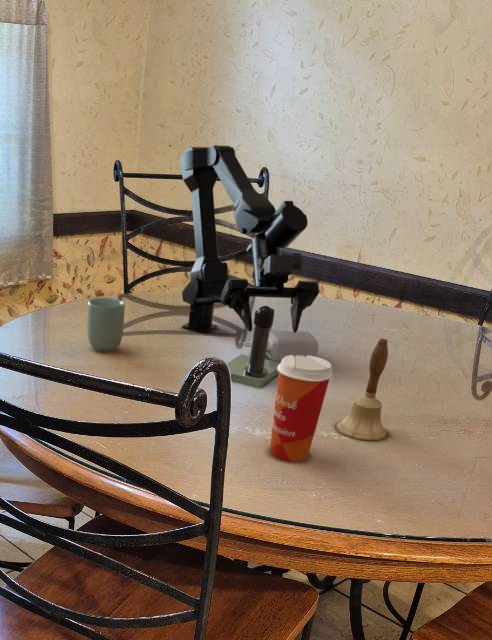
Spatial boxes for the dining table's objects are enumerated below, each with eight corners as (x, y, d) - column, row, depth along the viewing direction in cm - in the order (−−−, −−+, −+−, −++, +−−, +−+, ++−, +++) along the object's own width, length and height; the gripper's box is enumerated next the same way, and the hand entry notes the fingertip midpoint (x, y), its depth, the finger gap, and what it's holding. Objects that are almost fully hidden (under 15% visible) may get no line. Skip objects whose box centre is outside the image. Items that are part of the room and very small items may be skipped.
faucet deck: (240, 360, 153) (248, 308, 147) (283, 370, 149) (292, 317, 143) (215, 376, 143) (221, 321, 138) (259, 387, 139) (268, 331, 134)
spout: (268, 341, 136) (274, 309, 133) (250, 339, 137) (254, 307, 134) (275, 329, 144) (280, 298, 140) (257, 326, 145) (262, 296, 141)
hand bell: (389, 443, 119) (415, 349, 111) (338, 437, 120) (360, 344, 112) (382, 424, 126) (406, 334, 118) (334, 419, 127) (354, 329, 119)
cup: (118, 356, 152) (120, 308, 146) (83, 352, 153) (84, 304, 147) (125, 345, 158) (127, 299, 153) (91, 341, 159) (92, 295, 154)
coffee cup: (257, 442, 117) (272, 352, 109) (305, 443, 118) (324, 353, 110) (270, 465, 110) (287, 371, 102) (322, 465, 111) (343, 372, 103)
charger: (238, 349, 160) (303, 351, 161) (246, 362, 152) (315, 364, 153) (241, 327, 158) (307, 330, 159) (249, 340, 150) (319, 342, 151)
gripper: (232, 234, 136) (238, 308, 133) (326, 238, 138) (334, 311, 135) (218, 268, 147) (223, 337, 144) (305, 271, 149) (312, 339, 146)
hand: (273, 331), depth 142 cm, fingers open, 9 cm apart
